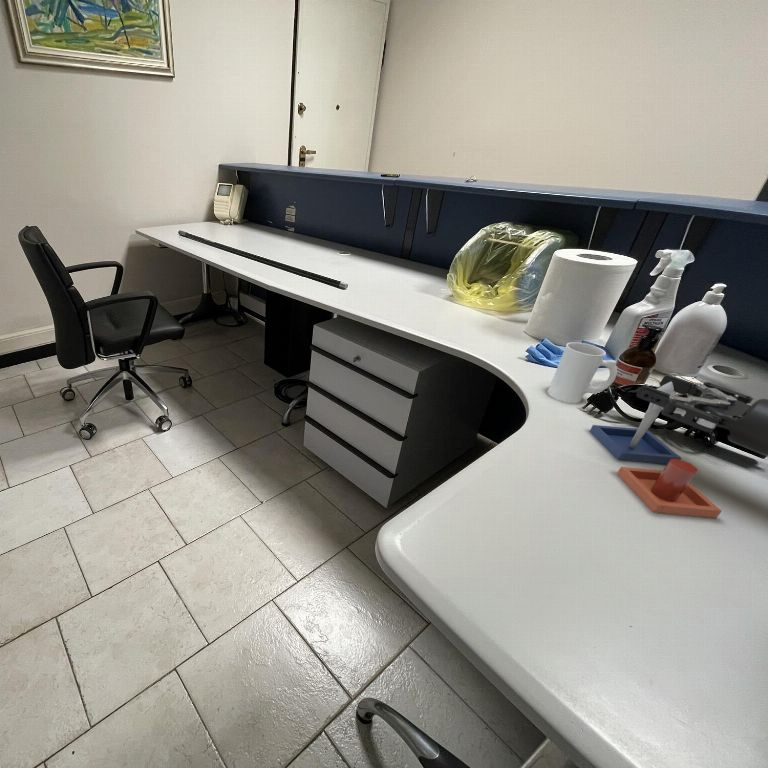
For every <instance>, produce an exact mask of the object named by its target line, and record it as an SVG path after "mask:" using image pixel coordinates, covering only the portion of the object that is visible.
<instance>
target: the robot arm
mask: <svg viewBox="0 0 768 768" xmlns="http://www.w3.org/2000/svg"><path fill="white" fill-rule="evenodd" d="M669 382H672V383H673V388H674V393H678V394H681V395H683V396H687V397H682V396H677V395H675V396H673V395H671V394H668V393H665V392H663V391H660V390H657V389H658V388H654V387H652V386H649V385H645V384H644V385H642V386H640V387H639V389H638V391H637V392H636V394H635V396H636V397H637V398H638V399H640V400H643V401H646V402H648V403H650V402H651V403H653V404H656V405H658V406H661V407H662V409H663V410H662V411H661V412H660V413H661V415H662V416H665V417H667V418H670V419H672V420H675V421H677V422H680V423H681V424H684V425H686V426H689V427H692V428H695V429H698V430H700V431H702V432H705V433H712V432H713V431H714V429H716V427H718V428H722V429H726V430H728V431H729V433H728V434H727V440H728V442H731V443H733V444H735V445H737V446H740V447H742V448H744V449H747V450H750V451H753V452H755V453H758V454H760V455H762V456H765V457H767V458H768V399H767V398H759V399H758V400H756V401H755V402H753V403H752V401H753V400H754V398H753V397H752V396H750V395H747V394H744V393H741V392H738V391H735V390H732V389H730V388H726V387H723V386H720V385H718V384H715V383H712V382H709V381H704V382H703V383H702V382H691V381H688V380H686V379H683V378H680V377H678V376H674V375H671V374H666V375H664V376H663V377H662V378H661V380H660V382H659V386H660V387H661V386H663V385H665V384H667V383H669ZM751 403H752V404H751ZM750 404H751V405H750Z"/></svg>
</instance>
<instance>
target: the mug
mask: <svg viewBox="0 0 768 768" xmlns="http://www.w3.org/2000/svg"><path fill="white" fill-rule="evenodd" d="M606 354H607V352H606V351H605V350H604V349H602V348H600V347H598V346H596V345H593V344H589V343H585V342H575V341H573V342H568V343H566V346H565V347H564V350H563V353H562V355H561V358H560V360H559V362H558V365H557V367H556V370H555V372H554V375H553V377H552V380H551V382H550V385H549V387H548V390H547V394H548V395H549V396H550V397H552V399H555V400H558V401H559V402H564V403H567V404H568V403H569V404H578V403H581V401H582V399H583V397H584V395H585V394H592V395H596V394H597V393H600V392H601V393H602V392H603V391H605V390H606V389H608V388H609V387H610V386H612V384H613V383H614V381H615V380H616V377H617V372H618V371H617V360H613V359H608V360H606V359H604V357H605V356H606ZM600 367H605V368H607V369H608V370H609V376H608V378H607V379H606V380H605V382H604V383H602V384H600V385H598V386H593V385H592V384H591V382H592V380H593V378H594V376H595V374H596V373H597V370H598V369H599V368H600ZM601 393H600V394H601Z"/></svg>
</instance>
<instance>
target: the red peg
mask: <svg viewBox="0 0 768 768" xmlns="http://www.w3.org/2000/svg"><path fill="white" fill-rule="evenodd" d="M698 472H699V469H698V468H697V466H695V465H694V464H692V463H690V462H688V461H686V460H683V459H681V460H680V459H671V460H670V461H669V462H668V464H665V467H664V468H663V469H662V473H661V474H660V476H659V477H658V478H657V480H656V481H655V483H654V484H653V486H652V487H651V492H652V493H653V494H654V495H655V496H657V497H658V498H660V499H663V500H665V501H669V502H675V501H677V499H678V498H679V497H680V495H681V494H682V493H683V491H684V490H685V488H686V487H687V486H688V484H689V483H690V484H691V482H692V480H693V479H694V478H695V477H696V475H697V473H698Z"/></svg>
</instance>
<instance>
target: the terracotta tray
mask: <svg viewBox="0 0 768 768" xmlns="http://www.w3.org/2000/svg"><path fill="white" fill-rule="evenodd" d="M662 471H663V469H662V470H660V469H649V468H638V467H627V466H620V468H619V469H618V471H617V472H616V474H617V476H618V477H619V478H620V479H621V480H622V481H623V482H624V483H625V484H626V485H627V486H628V487H629V488H630V489H631V491H633V493H634V494H635V495H636V496H637V497H638V498H639V499H640V500H641V501H642V502H643V503H644V504H645V505H646V506H647V507H648V508H649V510H650V511H652V513H656V514H666V515H676V516H687V517H696V518H697V517H698V518H708V519H717V518H718V516H719V515H720V514H721V513H722V510H721V509H720V508H719V507H718V506H717V505H716V504H715V503H713V501H711V500H710V499H709V498H708V497H707V496H706V495H704V494H703V493H702V492H701V491H699V489H697V488H696V487H695V486H694V485H693V484H692V483H691V482H690V483H689V484H688V486H687V487H686V488H685V490H684V491H683V493H682V494H681V495H680V497H679V498H678V499H677V501H675V502H669V501H665V500H663V499H660V498H658V497H657V496H655V495H654V494H653V493H652V492H651V487H652V486H653V484H654V483H655V481H656V480H657V478H658V477H659V476H660V474H661V473H662Z"/></svg>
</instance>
